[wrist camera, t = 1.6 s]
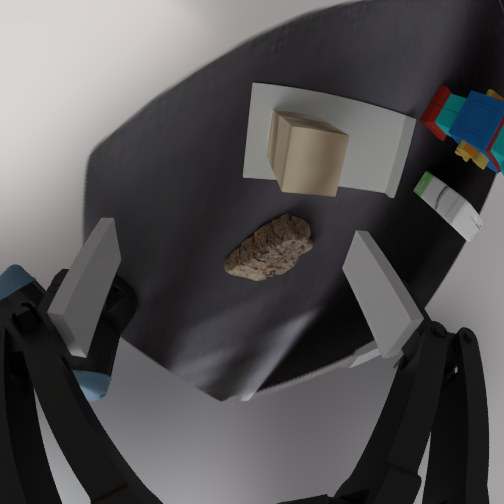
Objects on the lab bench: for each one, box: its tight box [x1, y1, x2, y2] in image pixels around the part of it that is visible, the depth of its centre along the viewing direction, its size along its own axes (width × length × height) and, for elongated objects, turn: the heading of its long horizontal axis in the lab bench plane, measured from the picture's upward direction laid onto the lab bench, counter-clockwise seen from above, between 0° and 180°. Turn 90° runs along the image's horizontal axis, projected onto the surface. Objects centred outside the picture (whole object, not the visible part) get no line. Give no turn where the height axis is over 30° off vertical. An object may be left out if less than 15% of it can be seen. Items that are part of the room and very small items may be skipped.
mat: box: [243, 83, 416, 198], centre depth 37 cm, size 25×14×2 cm, turn 84°
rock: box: [224, 213, 314, 281], centre depth 47 cm, size 15×10×6 cm
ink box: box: [414, 171, 484, 242], centre depth 39 cm, size 9×5×12 cm, turn 63°
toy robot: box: [420, 85, 504, 175], centre depth 24 cm, size 12×6×25 cm, turn 153°
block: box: [266, 109, 349, 197], centre depth 32 cm, size 6×7×12 cm
